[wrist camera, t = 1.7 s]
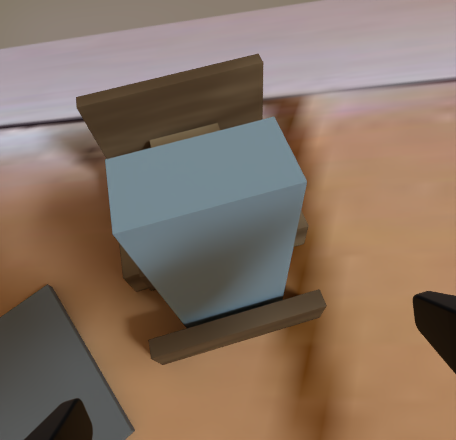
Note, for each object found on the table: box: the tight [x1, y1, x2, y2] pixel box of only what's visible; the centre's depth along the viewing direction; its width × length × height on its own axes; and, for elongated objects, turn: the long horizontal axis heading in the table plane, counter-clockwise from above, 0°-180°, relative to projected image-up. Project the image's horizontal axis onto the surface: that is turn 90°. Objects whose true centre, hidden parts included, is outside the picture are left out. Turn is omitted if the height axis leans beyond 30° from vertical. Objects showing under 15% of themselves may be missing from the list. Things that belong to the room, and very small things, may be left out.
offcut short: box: [150, 123, 220, 148], centre depth 25 cm, size 3×5×4 cm, turn 105°
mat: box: [0, 284, 135, 440], centre depth 19 cm, size 11×11×1 cm
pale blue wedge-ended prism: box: [105, 117, 307, 328], centre depth 16 cm, size 3×6×13 cm, turn 105°
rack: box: [76, 54, 326, 365], centre depth 21 cm, size 15×12×8 cm
